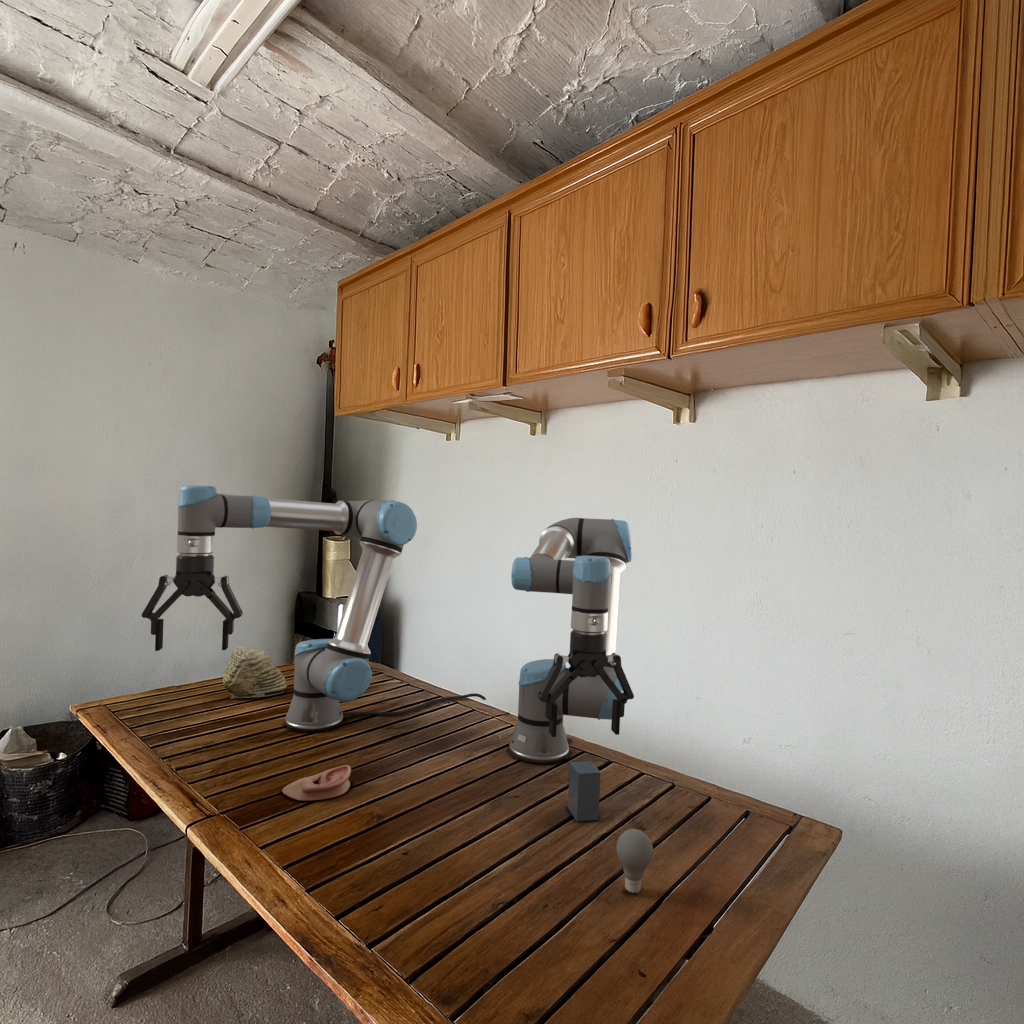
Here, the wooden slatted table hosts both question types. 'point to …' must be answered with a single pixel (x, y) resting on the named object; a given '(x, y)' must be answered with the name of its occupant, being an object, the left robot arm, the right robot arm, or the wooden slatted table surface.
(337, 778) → the anatomical model
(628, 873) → the light bulb
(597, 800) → the brick
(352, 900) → the wooden slatted table surface
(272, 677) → the fossil
